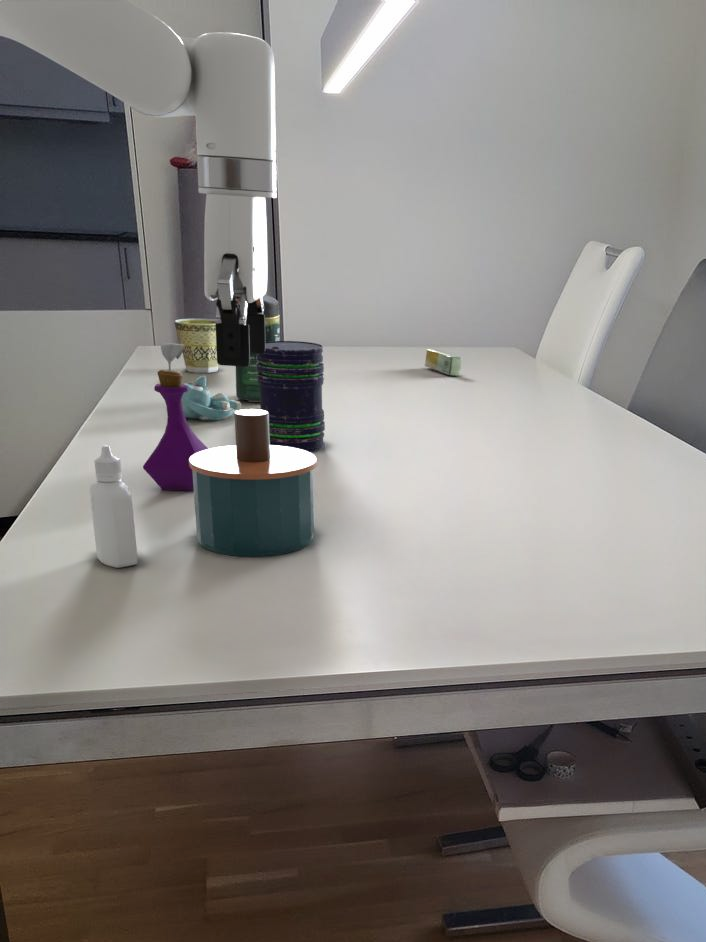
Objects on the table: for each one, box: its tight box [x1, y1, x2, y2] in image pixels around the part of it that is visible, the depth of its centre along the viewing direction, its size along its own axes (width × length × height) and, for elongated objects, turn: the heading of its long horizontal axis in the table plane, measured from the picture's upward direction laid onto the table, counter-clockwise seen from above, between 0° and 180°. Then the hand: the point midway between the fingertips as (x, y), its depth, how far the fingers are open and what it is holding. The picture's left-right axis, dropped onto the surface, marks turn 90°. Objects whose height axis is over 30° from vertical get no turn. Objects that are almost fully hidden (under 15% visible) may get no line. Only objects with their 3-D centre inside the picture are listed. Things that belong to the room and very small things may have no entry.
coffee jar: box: [235, 293, 281, 403], centre depth 188 cm, size 10×8×19 cm
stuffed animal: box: [181, 375, 242, 422], centre depth 174 cm, size 11×7×12 cm
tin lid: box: [189, 408, 318, 480], centre depth 111 cm, size 14×14×6 cm
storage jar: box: [256, 340, 326, 453], centre depth 155 cm, size 10×10×15 cm
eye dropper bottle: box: [89, 444, 139, 569], centre depth 105 cm, size 4×6×12 cm
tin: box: [192, 469, 315, 558], centre depth 114 cm, size 13×13×8 cm
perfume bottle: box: [142, 342, 209, 492], centre depth 131 cm, size 8×8×18 cm
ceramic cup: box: [174, 318, 220, 374], centre depth 218 cm, size 13×10×10 cm
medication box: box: [424, 348, 463, 377], centre depth 229 cm, size 12×3×4 cm, turn 31°
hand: (242, 358), depth 108 cm, fingers open, 9 cm apart
